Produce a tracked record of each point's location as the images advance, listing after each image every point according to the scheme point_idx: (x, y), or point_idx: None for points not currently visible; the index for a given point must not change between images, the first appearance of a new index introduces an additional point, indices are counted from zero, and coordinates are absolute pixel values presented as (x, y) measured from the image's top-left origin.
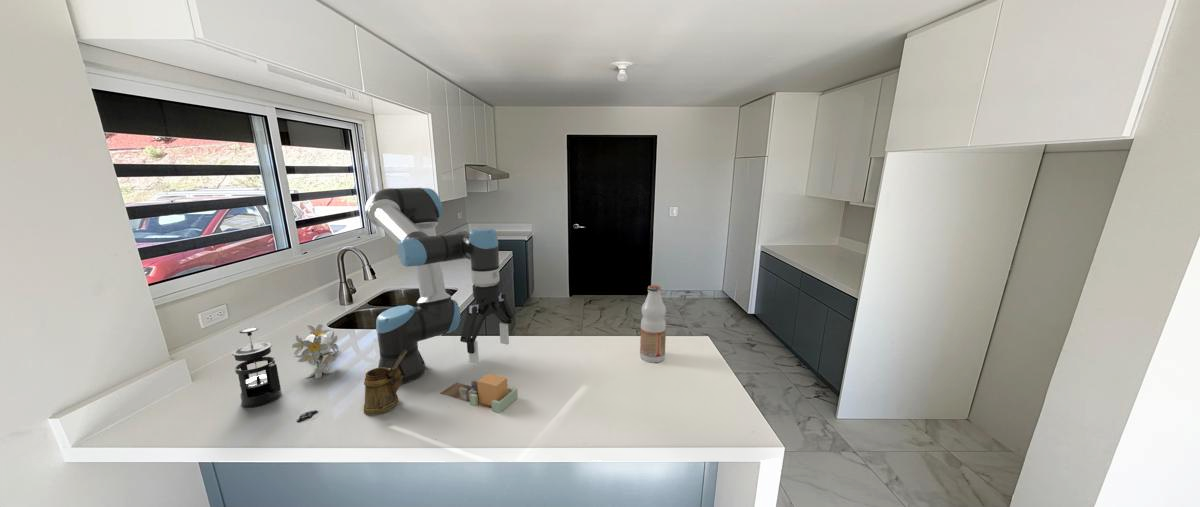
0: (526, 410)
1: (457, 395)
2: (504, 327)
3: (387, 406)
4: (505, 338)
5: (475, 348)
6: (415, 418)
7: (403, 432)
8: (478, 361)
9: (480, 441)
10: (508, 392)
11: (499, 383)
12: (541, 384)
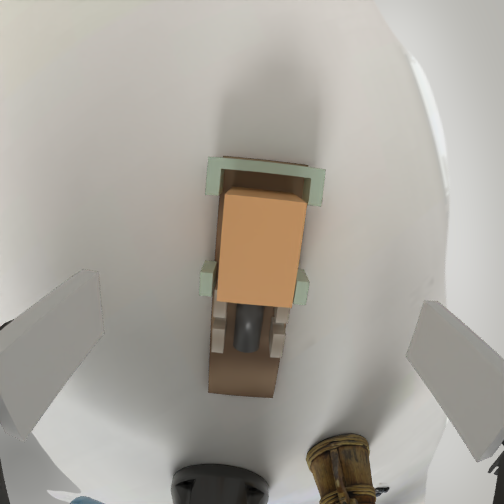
0: (258, 101)
1: (267, 353)
2: (19, 370)
3: (355, 442)
4: (76, 308)
5: (501, 362)
6: (370, 377)
7: None
8: (433, 305)
9: (422, 166)
10: (220, 191)
11: (282, 201)
12: (102, 136)
